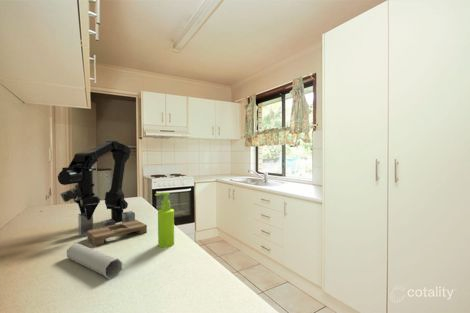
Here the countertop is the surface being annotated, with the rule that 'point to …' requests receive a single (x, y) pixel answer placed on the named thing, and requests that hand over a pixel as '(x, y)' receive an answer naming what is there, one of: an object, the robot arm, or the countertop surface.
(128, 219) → the medium pin
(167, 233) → the soap dispenser
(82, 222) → the long pin
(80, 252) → the tube
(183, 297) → the countertop surface
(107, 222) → the grey metal cube
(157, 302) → the countertop surface
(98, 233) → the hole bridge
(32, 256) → the countertop surface
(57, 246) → the countertop surface
